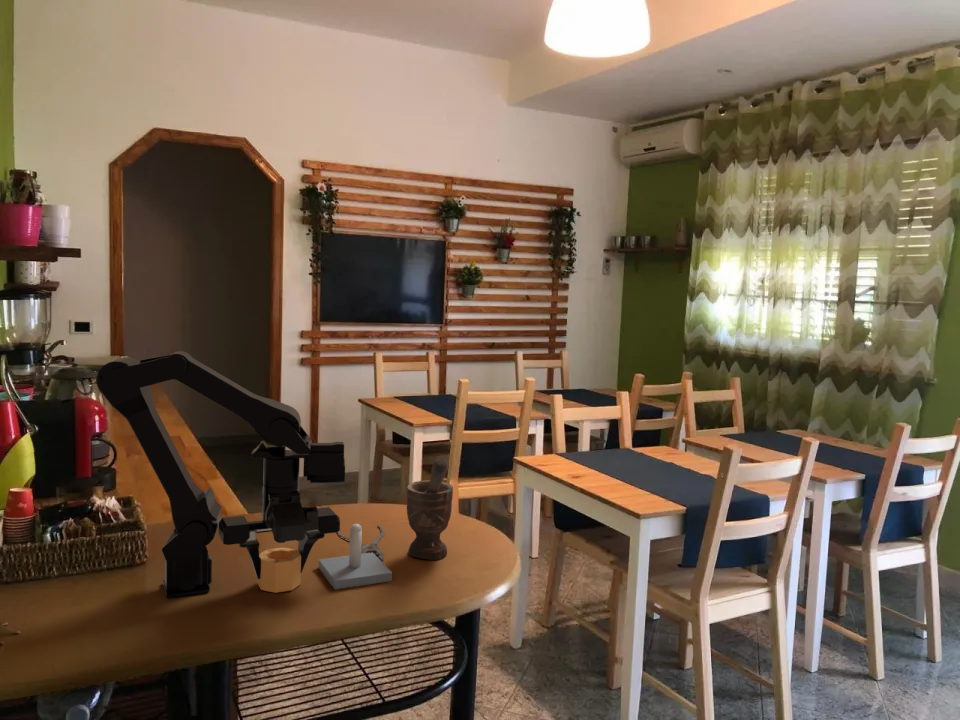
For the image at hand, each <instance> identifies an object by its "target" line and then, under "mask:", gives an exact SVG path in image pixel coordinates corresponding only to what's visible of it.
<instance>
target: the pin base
mask: <svg viewBox="0 0 960 720" xmlns="http://www.w3.org/2000/svg"><path fill="white" fill-rule="evenodd" d="M349 529H350V530H349V538H350V542H349V549H348V550H349V551H348V553H349V554H348V555H343V556H335V557H328V558H320V559H318V569H319V571H320V572H321V573H322V575H323V576H324V577H325V578H326V579H327V581H328V582H329V584H330V585H331V587H332V586H333V587H332V588H333V589H334V590H342V589H346V588H347V587H349V588H355V587H361V585H362V586H368V585H374V584H381V583H382V584H383V583H386V582H392V580H393V572H392V570H390V569H389V567H387V566H386V565H385V564H384V562H382V561H381V560H380V559H379V557H377V556H376V555H375V553H373V552H372V553H364V554H361V543H362V541H363V540H362V537H363V536H362V535H363V532H362V531H363V529H362V526H361V525H360V524H359V523H353V524H352V525H351V526H350V528H349ZM354 586H355V587H354ZM341 588H342V589H341ZM347 589H348V588H347Z"/></svg>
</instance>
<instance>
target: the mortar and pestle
mask: <svg viewBox="0 0 960 720" xmlns="http://www.w3.org/2000/svg"><path fill="white" fill-rule="evenodd" d="M448 469H449V463H448V460H447V459H445V458H441V457H440V458H436V459H435V460H434V462H433V464H432V466H431V472H430V479H429V480H427V479H426V480H418V481H414V482H411V483H408V485H407V488H406V500H407V501H406V516H407V519H408V524H409V526H410V528H411V530H413V532H414V533H415V538H414V540H413V541H412V542H411V543H410V545H409V548H408V551H407V553H408V555H409V556H411V557H413V558H417V559H423V560H428V561H435V560H441V559H443V558H444V557H446V556H447V554H448V549H447V545H446V543H445V542H444V541H442V539H441V534H442V533H443V532H444V531H445V530H446V529H447V528H448V525H449V522H450V519H451V516H452V515H451V514H452V508H453V506H452V505H453V503H452V502H453V494H454V486H453V485H452V484H450V483H449V482H446V481H443V480H444V479H445V478H446V474H447V472H448Z"/></svg>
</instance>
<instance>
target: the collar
mask: <svg viewBox="0 0 960 720" xmlns="http://www.w3.org/2000/svg"><path fill="white" fill-rule="evenodd" d="M259 557H260V567H261V574H260V579H258V578H257V585H258V587H259V589H260V590H261V591H265V592H270V593H282V592H283V593H284V592H291V591H293V590H294V589H297V588H298V586H300V585H301V583H302V582H301V581H302V580H301V577H302V576H301V575H302V573H301V555H300V553H299V552H298V549H294V548H290V547H277V548H276V547H275V548H268V549H266V550H264V551H262V552H259Z"/></svg>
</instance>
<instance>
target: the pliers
mask: <svg viewBox="0 0 960 720" xmlns="http://www.w3.org/2000/svg"><path fill="white" fill-rule="evenodd" d="M377 526H378V527H379V528H380V529H381V530H380V529H379V528H378V527H377ZM377 526H376V527H377V528H378V529H379V530H380V534H379V535H378V536H377V537H376V538H375V539H373V540H372V541H371V543H370V544H364V543H362V542H361V554H364V553H369V552H373V553H374V554H375V555H376V556H378V558H379V559H380V560H381V561H384V555H385V554H384V553H383V550H381V548H380V547H378V544H379V542H380V541H381V540H382V539H383V538H384V536H385V534H384V532H385V530H384V528H383V527H382V526H381V525H380V524H377ZM337 533H338V534H339V536H341V537H343V538H344V539H347V540H349V541H350V537H348V536H345V535H343V534H342V533H341V530H340V531H339V532H336V534H337ZM338 534H337V535H338ZM383 535H384V536H383ZM339 536H338V537H339ZM382 537H383V538H382ZM381 538H382V539H381ZM344 539H343V540H344ZM380 539H381V540H380ZM379 540H380V541H379ZM378 541H379V542H378ZM377 543H378V544H377Z"/></svg>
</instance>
